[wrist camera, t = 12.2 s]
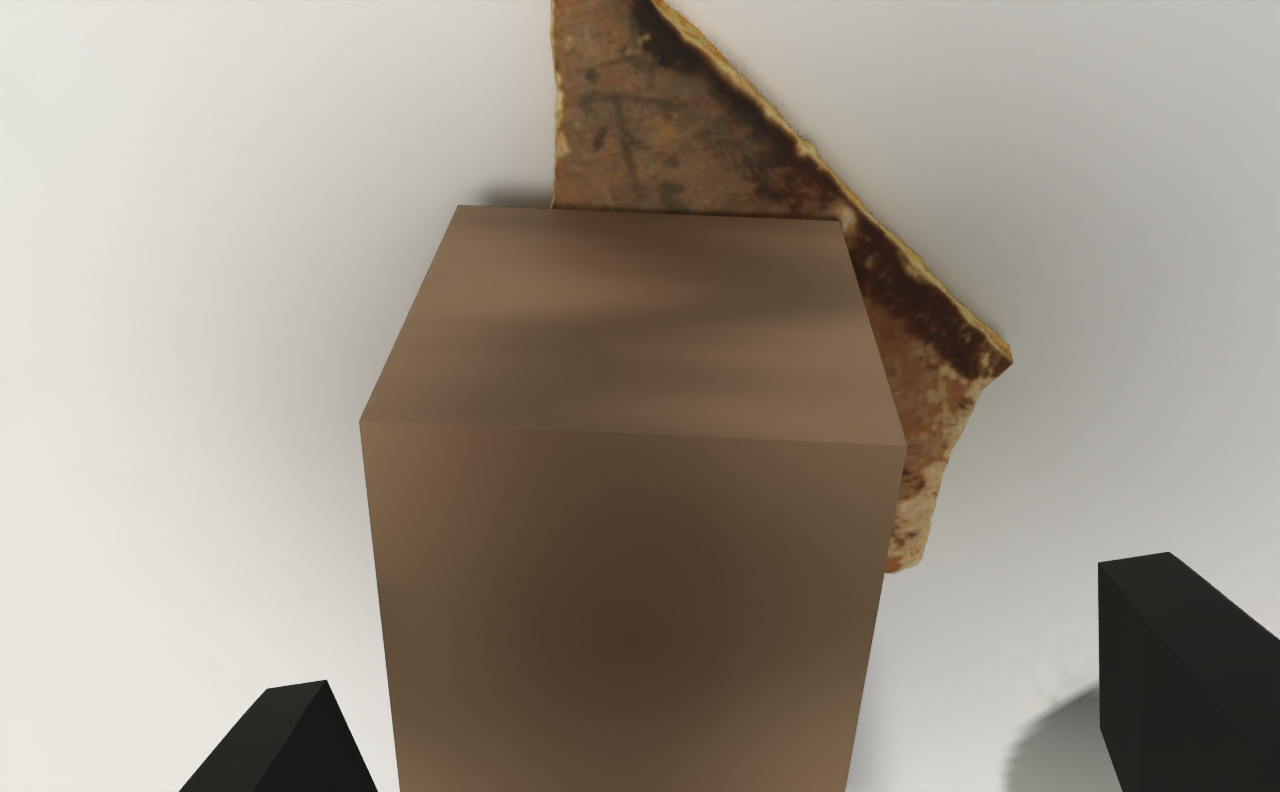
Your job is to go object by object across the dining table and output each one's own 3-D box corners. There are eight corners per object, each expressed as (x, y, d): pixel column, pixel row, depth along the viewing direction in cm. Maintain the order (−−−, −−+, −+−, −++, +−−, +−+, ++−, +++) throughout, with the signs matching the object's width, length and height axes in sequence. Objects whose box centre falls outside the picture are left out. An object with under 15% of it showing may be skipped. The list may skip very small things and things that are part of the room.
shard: (558, -117, 16) (548, -102, 15) (1087, -86, 17) (1133, -68, 15) (548, 505, 22) (540, 564, 20) (948, 524, 22) (971, 584, 20)
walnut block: (839, 221, 17) (907, 446, 12) (799, 526, 20) (840, 814, 15) (458, 205, 17) (359, 421, 12) (474, 511, 20) (400, 793, 15)
